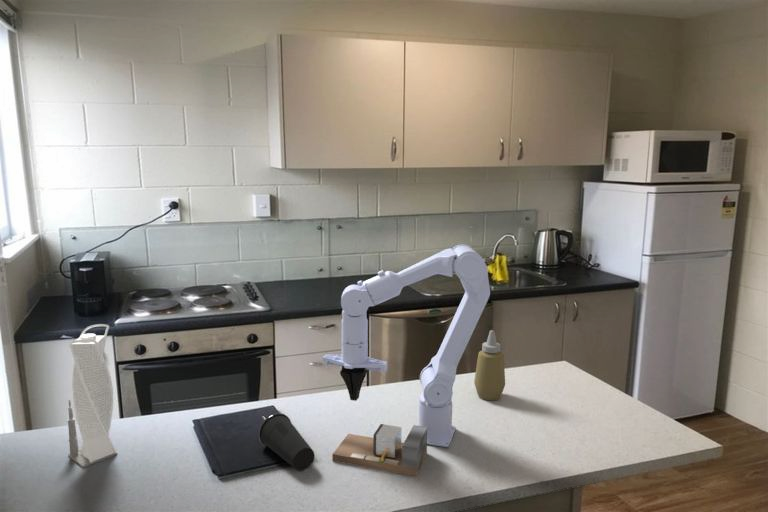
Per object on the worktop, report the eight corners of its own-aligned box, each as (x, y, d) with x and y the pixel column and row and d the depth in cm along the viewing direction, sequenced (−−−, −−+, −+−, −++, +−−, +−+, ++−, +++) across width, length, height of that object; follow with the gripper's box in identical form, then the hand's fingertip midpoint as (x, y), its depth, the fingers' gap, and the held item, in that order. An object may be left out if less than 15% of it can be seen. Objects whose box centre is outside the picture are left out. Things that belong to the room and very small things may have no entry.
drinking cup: (326, 445, 118) (283, 405, 134) (297, 438, 114) (256, 398, 129) (310, 480, 118) (269, 436, 133) (280, 474, 113) (241, 429, 129)
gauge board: (348, 439, 129) (348, 414, 128) (426, 453, 124) (427, 427, 122) (332, 460, 120) (332, 434, 119) (416, 475, 115) (416, 448, 114)
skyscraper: (108, 440, 127) (97, 319, 122) (126, 453, 122) (116, 326, 117) (68, 456, 121) (55, 328, 116) (85, 469, 116) (73, 337, 111)
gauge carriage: (380, 442, 124) (380, 423, 123) (401, 446, 123) (401, 427, 122) (369, 459, 117) (370, 439, 117) (391, 463, 116) (391, 443, 115)
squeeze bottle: (481, 404, 147) (484, 337, 144) (468, 391, 155) (471, 327, 152) (510, 401, 149) (513, 334, 146) (496, 388, 157) (499, 325, 154)
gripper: (316, 342, 124) (317, 401, 126) (380, 349, 120) (380, 410, 122) (329, 332, 131) (329, 388, 133) (390, 339, 126) (389, 397, 129)
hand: (354, 398), depth 128 cm, fingers closed
